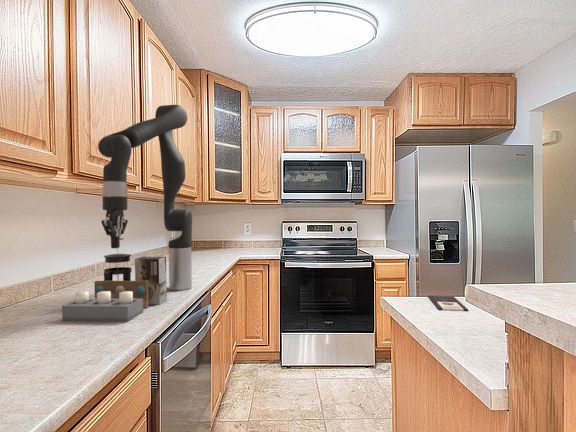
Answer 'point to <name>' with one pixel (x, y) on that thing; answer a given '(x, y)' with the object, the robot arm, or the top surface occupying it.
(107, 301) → the button
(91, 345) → the top surface
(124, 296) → the button
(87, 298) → the button
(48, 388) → the top surface
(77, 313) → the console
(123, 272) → the french press
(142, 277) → the coffee box
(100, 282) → the placard
